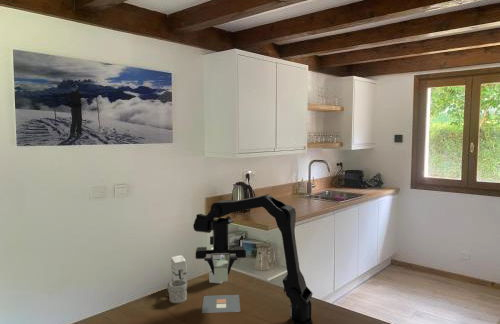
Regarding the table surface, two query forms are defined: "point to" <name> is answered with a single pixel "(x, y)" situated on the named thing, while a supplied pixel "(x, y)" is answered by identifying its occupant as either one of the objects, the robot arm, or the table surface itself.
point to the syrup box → (215, 258)
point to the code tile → (221, 304)
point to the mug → (177, 291)
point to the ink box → (179, 268)
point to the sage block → (220, 271)
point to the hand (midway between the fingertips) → (221, 274)
